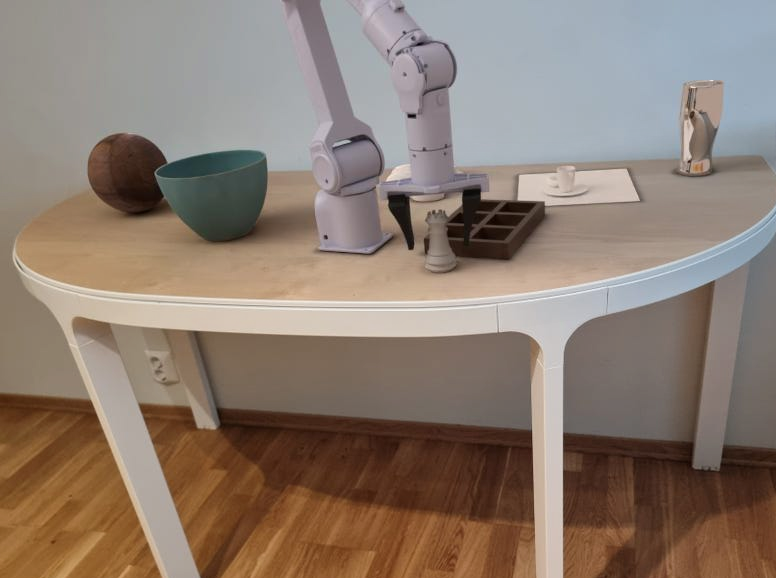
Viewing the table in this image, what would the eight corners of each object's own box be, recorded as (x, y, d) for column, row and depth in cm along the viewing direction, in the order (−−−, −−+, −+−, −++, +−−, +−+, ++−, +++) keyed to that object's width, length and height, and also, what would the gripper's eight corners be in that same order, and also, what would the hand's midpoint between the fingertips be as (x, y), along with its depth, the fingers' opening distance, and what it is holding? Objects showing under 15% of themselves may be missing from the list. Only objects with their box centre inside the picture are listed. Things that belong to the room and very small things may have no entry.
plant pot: (152, 250, 118) (130, 178, 112) (214, 215, 132) (198, 149, 126) (243, 254, 111) (225, 178, 105) (298, 217, 126) (285, 148, 120)
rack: (424, 253, 104) (423, 238, 102) (469, 212, 118) (469, 198, 117) (508, 259, 98) (508, 243, 97) (545, 215, 113) (545, 201, 112)
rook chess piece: (438, 259, 101) (433, 205, 97) (463, 264, 98) (459, 209, 94) (418, 270, 98) (413, 215, 94) (444, 275, 95) (439, 219, 92)
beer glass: (676, 177, 123) (684, 88, 116) (671, 167, 129) (678, 81, 122) (718, 175, 122) (729, 85, 115) (711, 165, 128) (720, 78, 121)
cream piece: (542, 184, 128) (541, 162, 126) (586, 182, 126) (587, 159, 124) (542, 199, 120) (542, 175, 118) (590, 196, 119) (590, 173, 117)
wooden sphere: (190, 196, 146) (170, 122, 138) (159, 220, 133) (136, 139, 125) (123, 201, 148) (100, 128, 141) (87, 224, 135) (60, 146, 128)
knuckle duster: (396, 177, 143) (467, 173, 140) (378, 204, 128) (458, 200, 125) (394, 160, 141) (466, 156, 139) (376, 186, 126) (456, 181, 123)
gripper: (370, 158, 87) (383, 259, 94) (487, 148, 86) (492, 252, 92) (377, 145, 93) (389, 241, 100) (486, 135, 92) (491, 234, 98)
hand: (439, 245), depth 97 cm, fingers open, 7 cm apart
